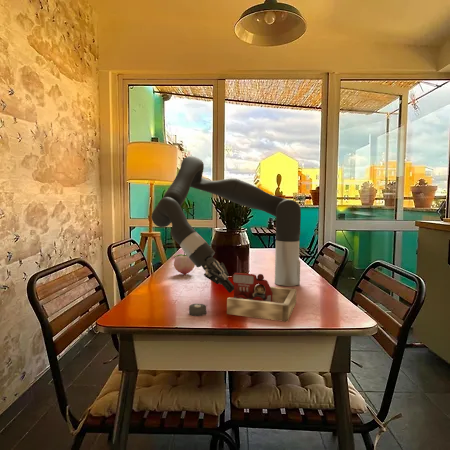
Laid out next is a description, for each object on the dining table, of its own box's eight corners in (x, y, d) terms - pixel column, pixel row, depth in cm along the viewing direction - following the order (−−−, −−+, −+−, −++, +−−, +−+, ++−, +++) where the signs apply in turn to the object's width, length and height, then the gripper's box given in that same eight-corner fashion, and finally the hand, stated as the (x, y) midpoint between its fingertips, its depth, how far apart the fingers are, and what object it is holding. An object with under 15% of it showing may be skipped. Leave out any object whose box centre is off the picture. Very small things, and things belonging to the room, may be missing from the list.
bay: (226, 314, 97) (227, 298, 96) (243, 297, 114) (244, 284, 113) (287, 321, 91) (288, 305, 91) (296, 302, 108) (296, 289, 108)
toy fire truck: (270, 312, 98) (270, 277, 98) (229, 308, 102) (229, 274, 101) (273, 305, 105) (274, 272, 104) (235, 301, 108) (235, 270, 108)
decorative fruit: (195, 272, 151) (195, 250, 151) (194, 276, 143) (194, 253, 142) (174, 272, 151) (174, 250, 150) (172, 276, 143) (172, 253, 142)
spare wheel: (206, 310, 100) (206, 303, 100) (205, 316, 95) (205, 308, 95) (189, 310, 100) (189, 303, 100) (188, 316, 95) (188, 308, 95)
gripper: (197, 253, 115) (231, 292, 112) (180, 260, 103) (217, 304, 100) (212, 239, 113) (246, 278, 110) (196, 244, 101) (234, 288, 98)
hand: (232, 290), depth 105 cm, fingers closed
